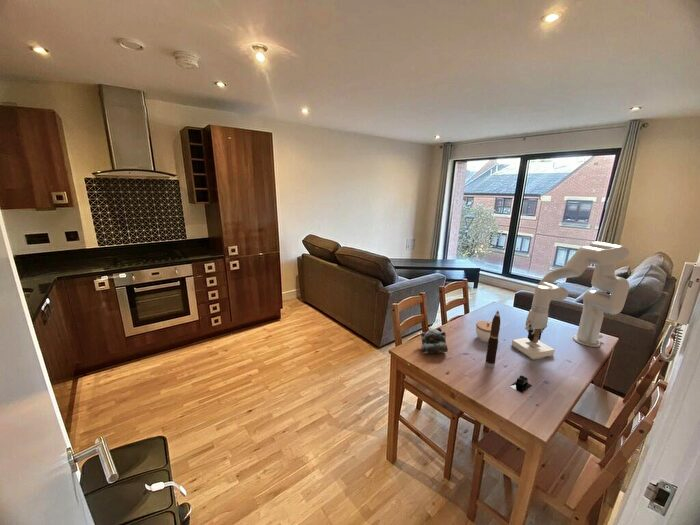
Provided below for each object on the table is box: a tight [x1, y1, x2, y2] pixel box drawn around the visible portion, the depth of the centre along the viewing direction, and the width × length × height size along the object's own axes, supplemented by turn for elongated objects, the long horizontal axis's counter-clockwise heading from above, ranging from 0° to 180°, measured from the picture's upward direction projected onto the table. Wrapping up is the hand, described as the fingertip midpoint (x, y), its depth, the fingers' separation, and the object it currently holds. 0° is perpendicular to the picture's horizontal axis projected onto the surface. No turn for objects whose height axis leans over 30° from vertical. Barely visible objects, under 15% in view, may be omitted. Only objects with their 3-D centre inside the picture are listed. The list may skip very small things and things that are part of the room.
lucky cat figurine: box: [420, 327, 449, 355], centre depth 157 cm, size 15×12×14 cm
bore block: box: [511, 337, 555, 361], centre depth 158 cm, size 14×14×4 cm
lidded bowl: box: [475, 320, 501, 343], centre depth 169 cm, size 13×13×11 cm
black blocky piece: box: [509, 375, 533, 394], centre depth 130 cm, size 12×7×5 cm, turn 123°
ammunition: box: [484, 310, 501, 369], centre depth 142 cm, size 5×5×30 cm
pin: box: [529, 329, 540, 343], centre depth 156 cm, size 4×4×8 cm
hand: (533, 338), depth 156 cm, fingers closed on pin, 4 cm apart
